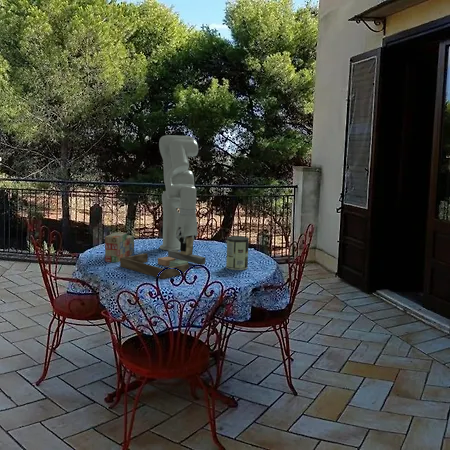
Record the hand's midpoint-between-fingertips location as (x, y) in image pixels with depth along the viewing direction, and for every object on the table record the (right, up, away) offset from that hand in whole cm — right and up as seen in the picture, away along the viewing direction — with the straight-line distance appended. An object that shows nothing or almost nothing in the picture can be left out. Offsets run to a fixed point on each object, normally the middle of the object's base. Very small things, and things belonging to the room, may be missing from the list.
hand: (186, 249), depth 238 cm
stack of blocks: (-33, -4, +7) cm, 34 cm away
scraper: (0, -5, +1) cm, 5 cm away
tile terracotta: (-9, -7, -3) cm, 12 cm away
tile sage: (-3, -8, -8) cm, 12 cm away
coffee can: (+24, -8, -5) cm, 25 cm away
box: (-13, -8, -14) cm, 21 cm away
